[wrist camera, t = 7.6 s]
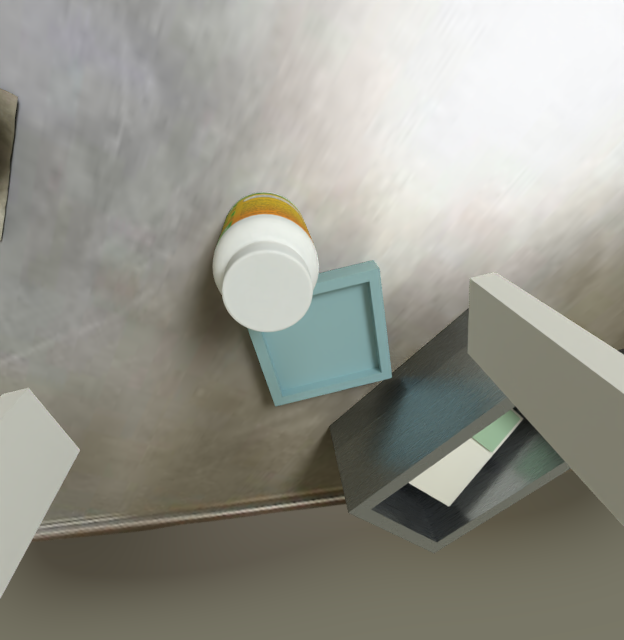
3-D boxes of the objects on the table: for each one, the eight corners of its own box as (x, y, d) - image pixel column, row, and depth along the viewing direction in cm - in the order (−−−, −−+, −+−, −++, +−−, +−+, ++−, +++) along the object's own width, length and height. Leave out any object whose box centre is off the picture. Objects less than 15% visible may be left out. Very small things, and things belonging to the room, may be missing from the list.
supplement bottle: (223, 186, 22) (200, 227, 14) (309, 194, 23) (336, 237, 14) (224, 267, 24) (205, 345, 16) (301, 272, 25) (321, 347, 17)
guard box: (474, 303, 29) (548, 367, 21) (536, 370, 33) (614, 441, 26) (329, 426, 33) (348, 512, 26) (400, 469, 38) (433, 553, 31)
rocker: (466, 371, 28) (485, 382, 26) (508, 409, 31) (527, 422, 29) (390, 463, 28) (403, 480, 27) (438, 492, 31) (453, 510, 29)
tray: (373, 260, 26) (379, 268, 24) (386, 366, 31) (392, 377, 29) (239, 292, 26) (238, 302, 24) (274, 393, 31) (275, 406, 29)
